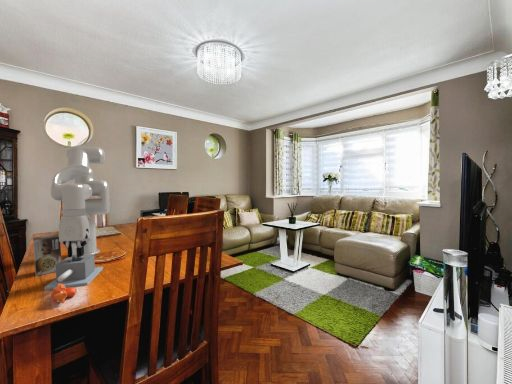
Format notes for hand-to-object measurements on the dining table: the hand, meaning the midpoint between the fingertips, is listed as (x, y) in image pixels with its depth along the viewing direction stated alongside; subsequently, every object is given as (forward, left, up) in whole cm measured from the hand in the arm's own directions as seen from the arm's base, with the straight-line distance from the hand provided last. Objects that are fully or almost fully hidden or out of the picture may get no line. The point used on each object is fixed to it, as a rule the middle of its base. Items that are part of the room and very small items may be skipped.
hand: (76, 255), depth 98 cm
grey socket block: (+2, 0, -10) cm, 10 cm away
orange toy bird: (+19, +4, -10) cm, 22 cm away
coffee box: (-13, -16, -10) cm, 23 cm away
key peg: (0, 0, -4) cm, 4 cm away
